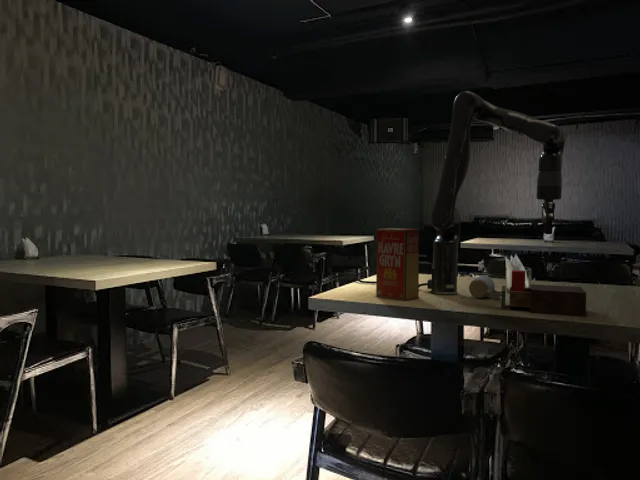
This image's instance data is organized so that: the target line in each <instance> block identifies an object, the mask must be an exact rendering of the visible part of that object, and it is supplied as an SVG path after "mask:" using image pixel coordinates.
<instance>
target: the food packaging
mask: <svg viewBox="0 0 640 480" xmlns="http://www.w3.org/2000/svg"><path fill="white" fill-rule="evenodd" d="M375 231H376V237H375V239H376V240H375V241H376V243H375V245H376V246H375V247H376V250H375V251H376V267H375V268H376V270H375V271H376V274H375V275H376V276H375V277H376V278H375V279H376V280H375V281H376V285H375V297H377V298H384V299H391V300H397V301H398V300H399V301H403V302H407V301H412V300H416V299H418V298H420V297H419V294H420V293H419V291H420V287H419V284H420V283H419V281H420V280H419V279H420V228H398V227H397V228H395V227H386V228H385V227H383V228H376V230H375Z"/></svg>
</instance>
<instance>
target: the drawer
mask: <svg viewBox="0 0 640 480" xmlns="http://www.w3.org/2000/svg"><path fill="white" fill-rule="evenodd" d="M493 293H500V294H493ZM506 293H507V286H506V285H501V291H498V290H496V291H490V290H487V291H486V296H487V297H488V298H490V297H489V296H490V295H491V296H501V297H500V299H501V301H500V307H501V308H506V297H507V296H506ZM509 307H513V308H514V307H515V308H529V309H530V308H531V289H530V287H525V292H519V291H511V286H509Z"/></svg>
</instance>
